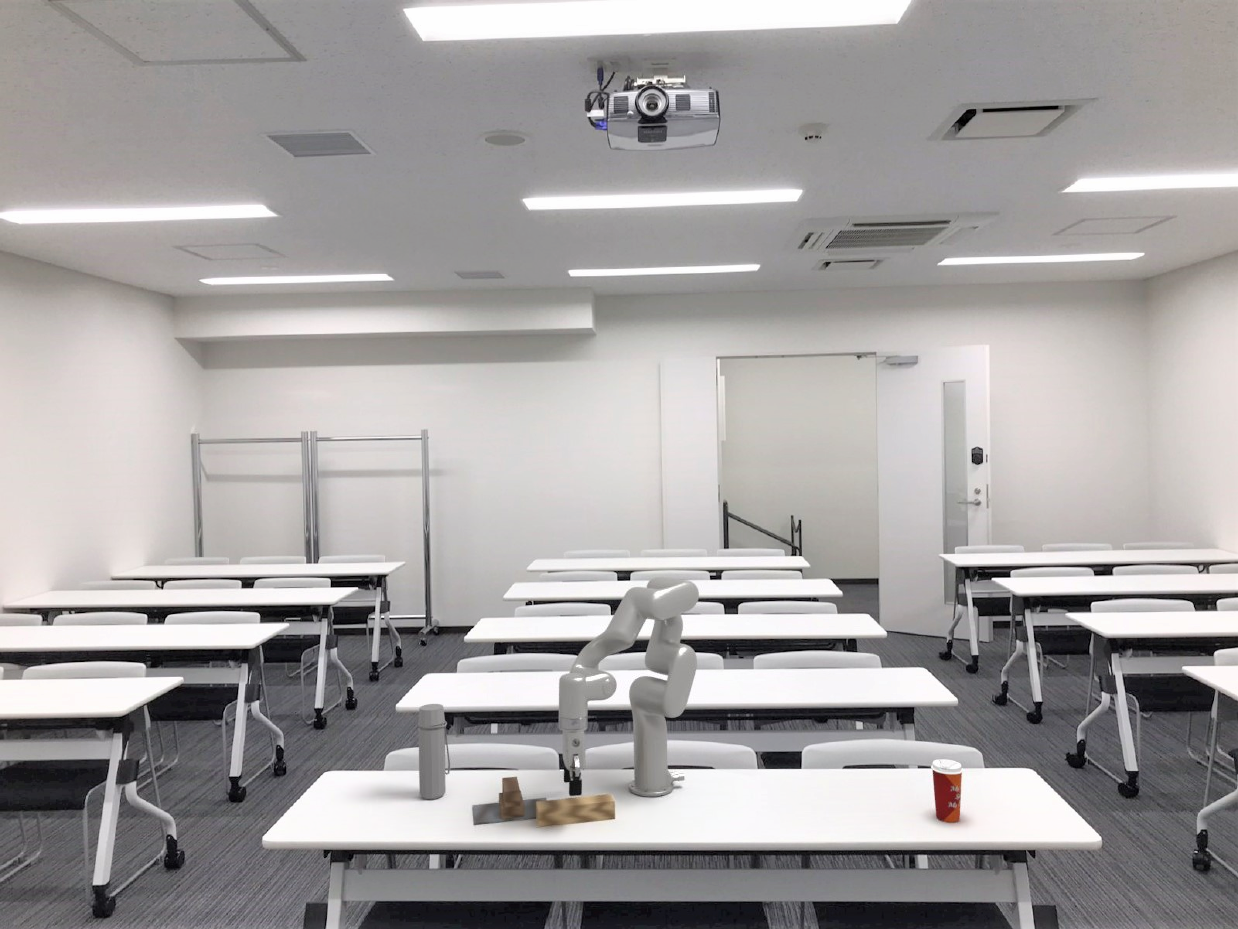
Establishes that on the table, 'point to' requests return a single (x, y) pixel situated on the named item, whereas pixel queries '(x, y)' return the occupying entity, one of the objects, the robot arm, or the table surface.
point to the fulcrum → (506, 805)
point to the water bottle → (432, 751)
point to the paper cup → (947, 789)
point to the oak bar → (575, 810)
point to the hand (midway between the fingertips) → (572, 788)
